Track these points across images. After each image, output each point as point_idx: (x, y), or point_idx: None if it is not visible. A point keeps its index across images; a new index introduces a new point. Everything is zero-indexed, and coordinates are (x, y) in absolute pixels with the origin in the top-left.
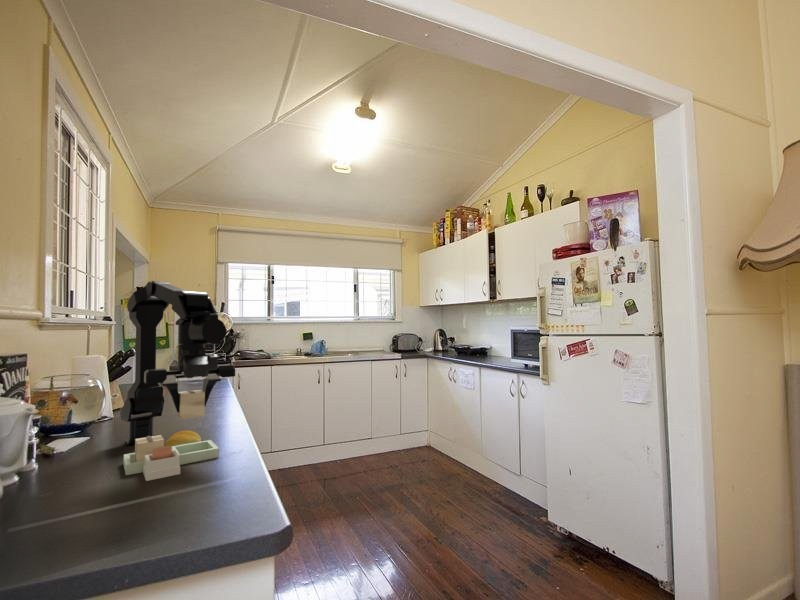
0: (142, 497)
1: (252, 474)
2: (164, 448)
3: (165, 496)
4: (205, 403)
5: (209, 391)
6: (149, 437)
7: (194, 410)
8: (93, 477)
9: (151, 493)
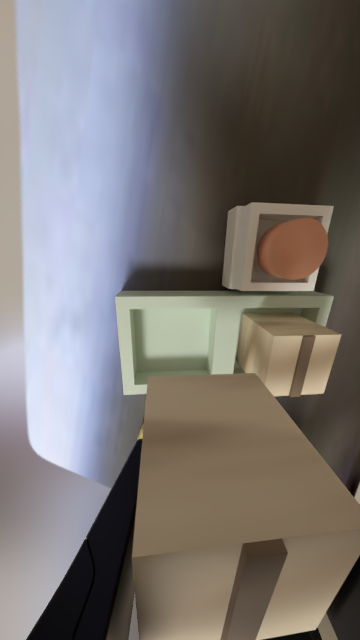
0: (332, 102)
1: (51, 48)
2: (295, 244)
3: (295, 55)
4: (130, 465)
5: (72, 590)
6: (298, 379)
7: (202, 399)
8: (347, 333)
9: (310, 118)
